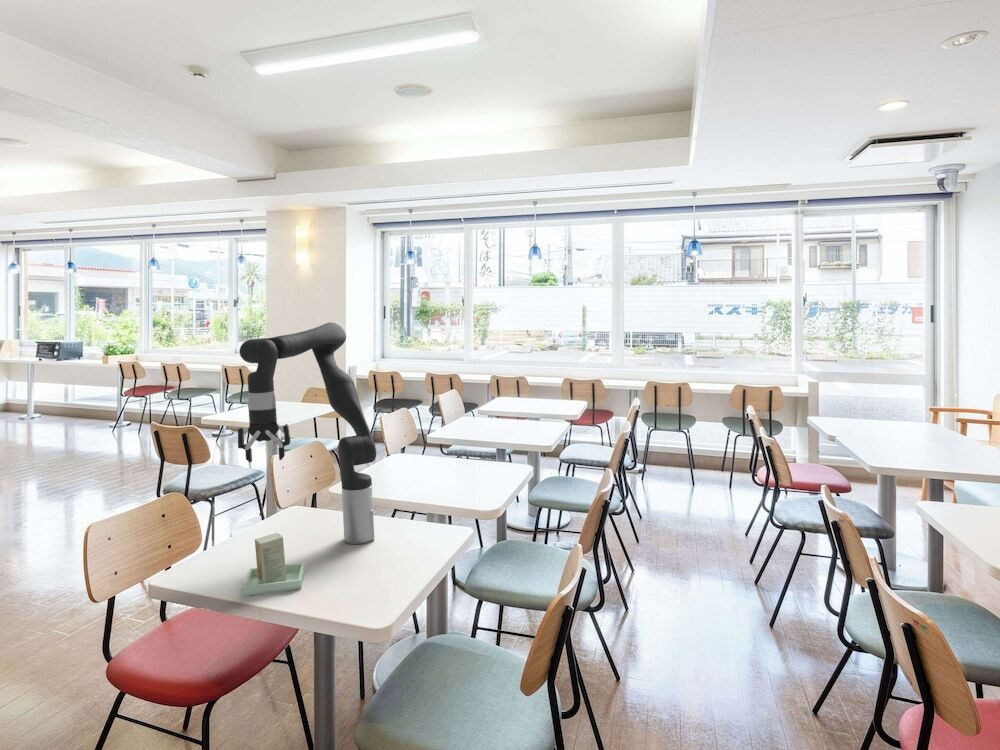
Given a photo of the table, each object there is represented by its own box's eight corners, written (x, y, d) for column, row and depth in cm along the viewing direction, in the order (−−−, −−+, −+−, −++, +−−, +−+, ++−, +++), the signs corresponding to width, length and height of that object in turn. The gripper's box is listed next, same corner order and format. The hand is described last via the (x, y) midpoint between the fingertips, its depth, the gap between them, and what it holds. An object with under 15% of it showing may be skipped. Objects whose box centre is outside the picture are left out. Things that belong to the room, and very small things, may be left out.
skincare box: (281, 575, 155) (278, 532, 153) (287, 580, 151) (284, 536, 150) (256, 583, 151) (253, 538, 149) (262, 588, 147) (259, 543, 146)
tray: (304, 571, 158) (304, 562, 158) (301, 589, 148) (300, 580, 148) (250, 577, 155) (249, 568, 155) (242, 596, 144) (242, 587, 144)
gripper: (289, 403, 173) (292, 455, 175) (238, 406, 170) (242, 459, 172) (286, 407, 166) (289, 461, 168) (233, 410, 163) (237, 465, 164)
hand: (265, 460), depth 170 cm, fingers open, 8 cm apart
